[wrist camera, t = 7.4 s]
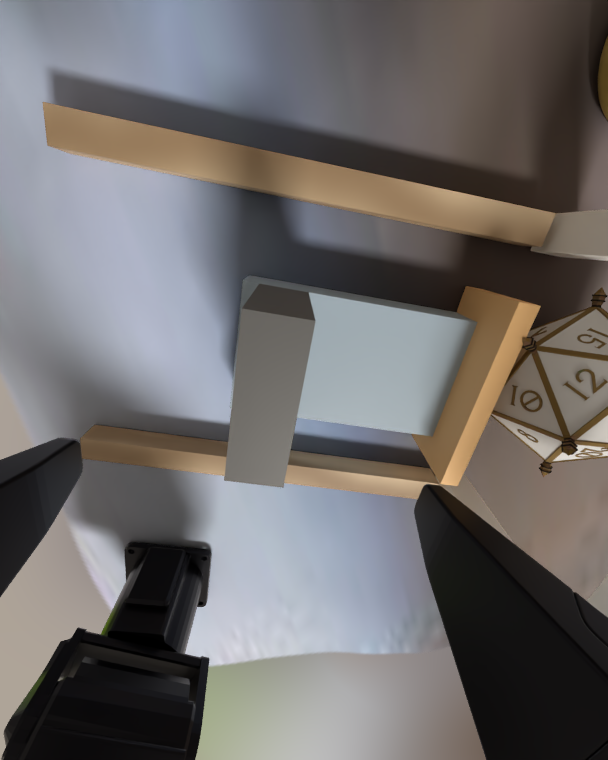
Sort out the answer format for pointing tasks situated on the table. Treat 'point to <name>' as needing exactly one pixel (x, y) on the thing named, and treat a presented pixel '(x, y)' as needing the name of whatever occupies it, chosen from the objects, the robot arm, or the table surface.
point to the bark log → (603, 80)
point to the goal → (570, 240)
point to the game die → (561, 388)
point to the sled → (367, 371)
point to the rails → (299, 183)
